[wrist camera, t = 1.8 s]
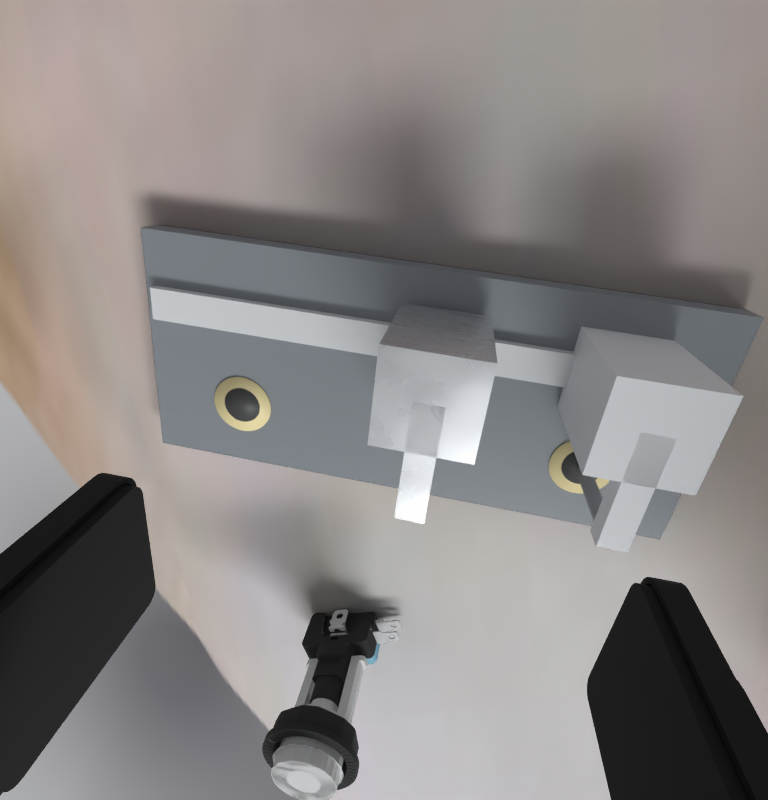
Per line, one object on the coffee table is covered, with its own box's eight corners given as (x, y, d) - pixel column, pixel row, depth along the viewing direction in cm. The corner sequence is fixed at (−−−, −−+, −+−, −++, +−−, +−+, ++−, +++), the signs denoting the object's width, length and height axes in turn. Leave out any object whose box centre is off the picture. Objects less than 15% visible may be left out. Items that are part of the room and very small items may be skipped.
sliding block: (491, 314, 22) (497, 363, 16) (461, 454, 25) (458, 535, 19) (403, 301, 22) (378, 344, 16) (385, 439, 25) (359, 515, 19)
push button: (390, 589, 32) (358, 748, 23) (412, 646, 34) (390, 813, 25) (301, 598, 34) (239, 750, 25) (327, 652, 36) (277, 810, 27)
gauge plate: (745, 309, 21) (869, 369, 15) (650, 521, 27) (710, 637, 20) (159, 224, 24) (39, 242, 18) (177, 430, 30) (89, 505, 23)
